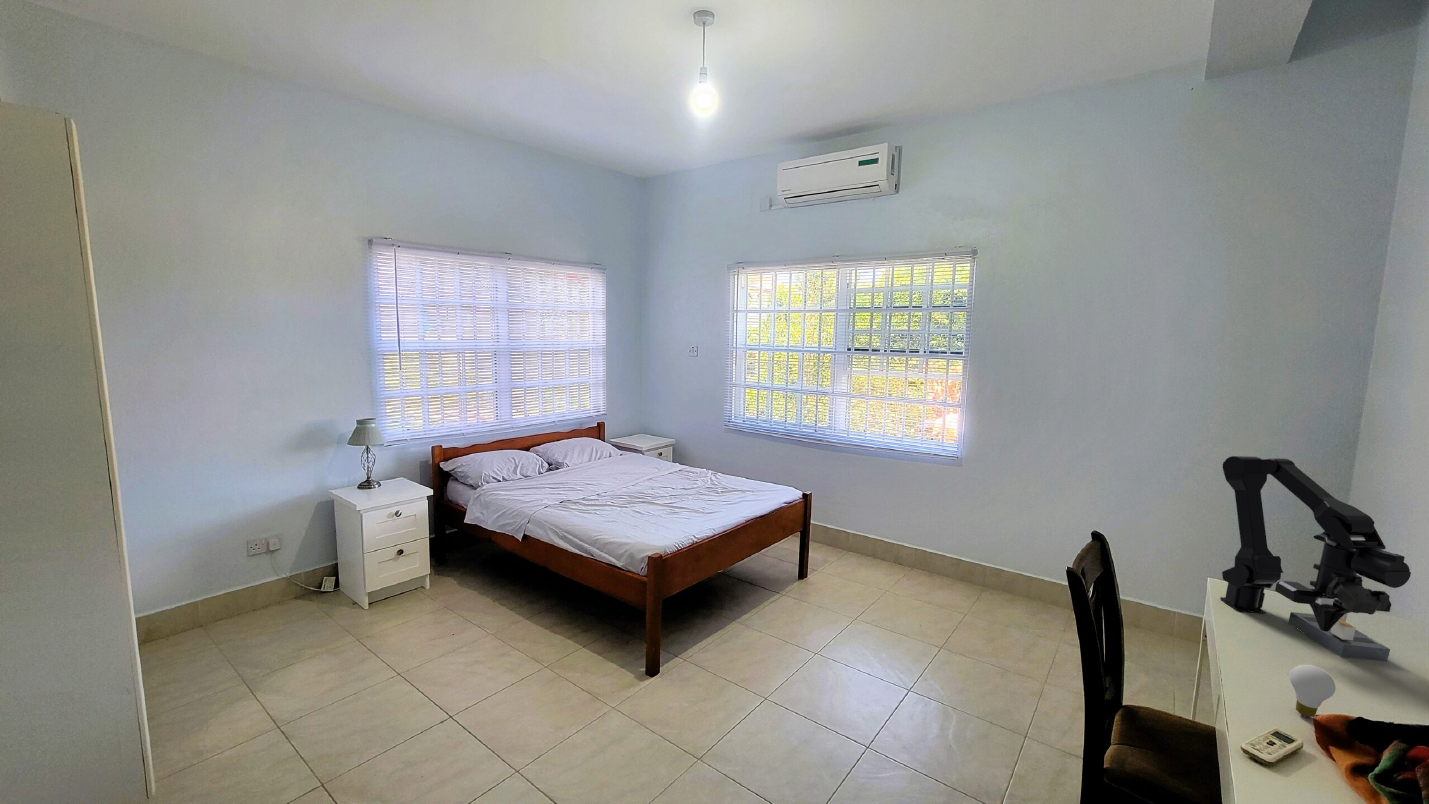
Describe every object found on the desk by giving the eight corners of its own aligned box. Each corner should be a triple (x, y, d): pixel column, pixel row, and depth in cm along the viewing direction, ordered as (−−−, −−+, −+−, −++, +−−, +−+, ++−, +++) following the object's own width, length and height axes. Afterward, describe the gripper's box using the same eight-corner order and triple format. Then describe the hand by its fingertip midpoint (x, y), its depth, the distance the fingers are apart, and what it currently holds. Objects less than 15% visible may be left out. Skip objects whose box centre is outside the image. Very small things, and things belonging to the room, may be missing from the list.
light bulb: (1336, 729, 104) (1348, 679, 102) (1298, 724, 105) (1309, 674, 103) (1310, 708, 110) (1321, 660, 108) (1274, 702, 111) (1284, 655, 109)
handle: (1335, 622, 135) (1338, 611, 135) (1324, 616, 138) (1326, 604, 138) (1345, 623, 135) (1347, 612, 134) (1333, 617, 138) (1336, 605, 137)
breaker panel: (1340, 656, 127) (1343, 644, 127) (1288, 623, 141) (1290, 611, 140) (1387, 661, 126) (1390, 648, 126) (1329, 627, 140) (1332, 615, 139)
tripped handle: (1342, 639, 128) (1345, 626, 128) (1330, 632, 131) (1333, 619, 130) (1352, 640, 128) (1355, 627, 127) (1340, 633, 131) (1343, 620, 130)
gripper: (1322, 578, 121) (1307, 645, 123) (1425, 587, 118) (1408, 656, 121) (1279, 556, 132) (1266, 618, 134) (1373, 564, 129) (1358, 628, 131)
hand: (1323, 630), depth 130 cm, fingers closed
